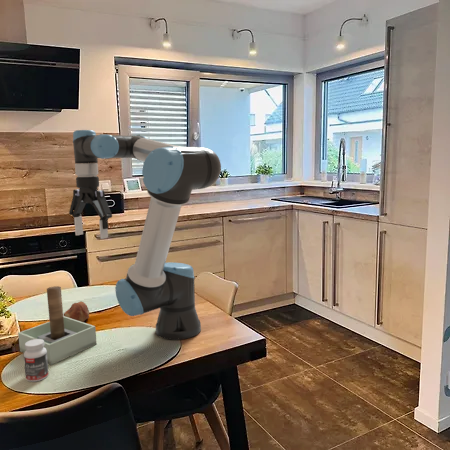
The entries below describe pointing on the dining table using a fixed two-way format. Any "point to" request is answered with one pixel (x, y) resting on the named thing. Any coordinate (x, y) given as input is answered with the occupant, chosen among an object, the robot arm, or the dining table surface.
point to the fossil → (78, 312)
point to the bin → (61, 339)
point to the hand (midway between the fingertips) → (91, 236)
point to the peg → (55, 312)
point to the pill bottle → (35, 360)
